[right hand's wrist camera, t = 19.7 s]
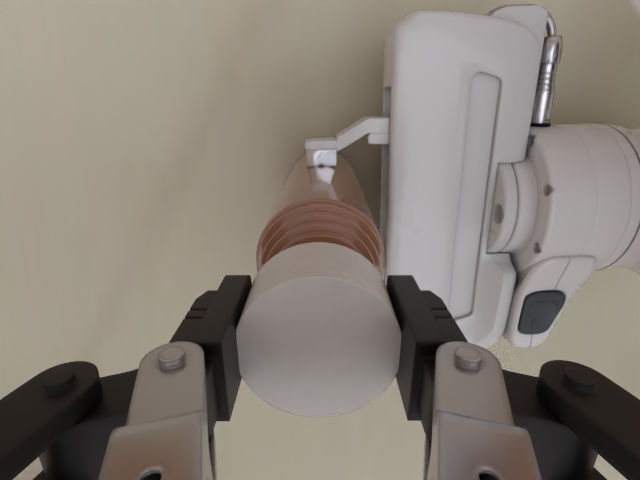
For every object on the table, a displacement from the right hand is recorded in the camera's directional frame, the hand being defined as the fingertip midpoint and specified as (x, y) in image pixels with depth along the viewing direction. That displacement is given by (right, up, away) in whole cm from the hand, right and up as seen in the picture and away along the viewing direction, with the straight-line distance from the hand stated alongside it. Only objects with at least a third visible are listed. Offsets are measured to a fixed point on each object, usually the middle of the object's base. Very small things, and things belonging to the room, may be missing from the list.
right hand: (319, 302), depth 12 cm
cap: (0, -1, -2) cm, 2 cm away
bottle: (0, +6, +17) cm, 18 cm away
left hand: (-1, +4, +11) cm, 12 cm away
